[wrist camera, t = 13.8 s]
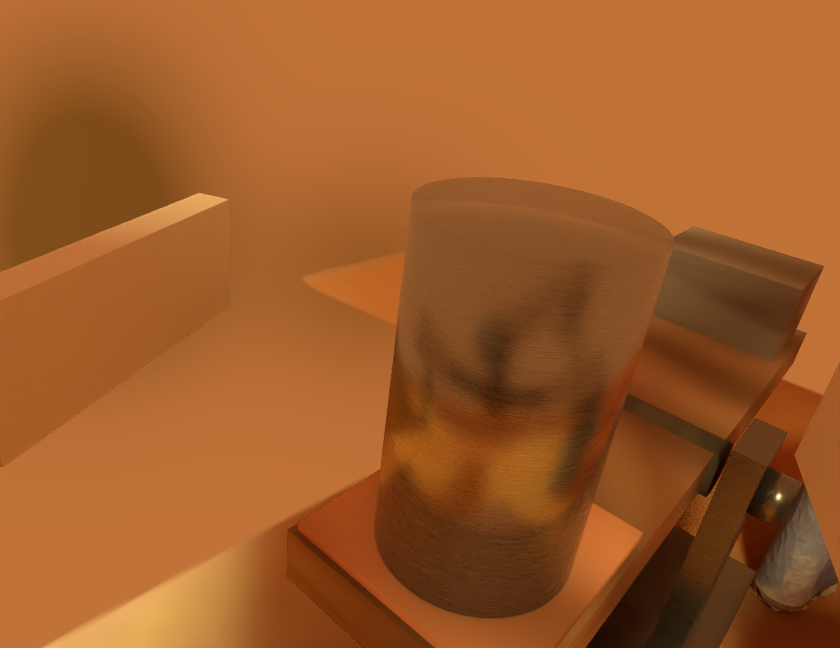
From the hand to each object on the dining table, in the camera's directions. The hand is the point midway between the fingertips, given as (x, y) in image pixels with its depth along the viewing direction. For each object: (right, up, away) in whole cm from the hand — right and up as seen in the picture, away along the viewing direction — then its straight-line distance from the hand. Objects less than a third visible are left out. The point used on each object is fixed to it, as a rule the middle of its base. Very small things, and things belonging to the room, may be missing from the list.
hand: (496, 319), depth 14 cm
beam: (+7, -5, +15) cm, 17 cm away
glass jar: (0, -6, +6) cm, 8 cm away
